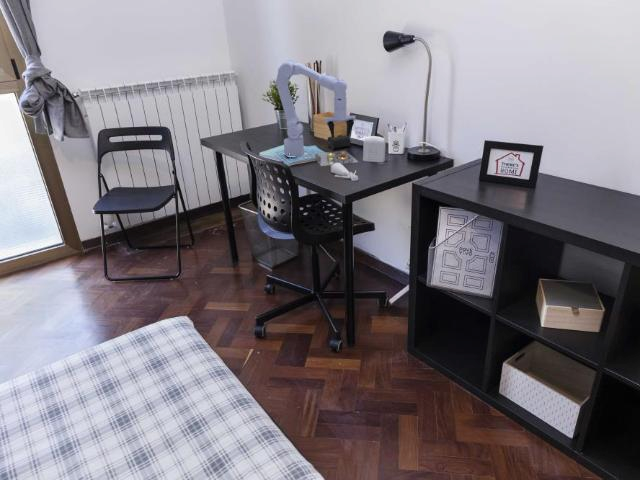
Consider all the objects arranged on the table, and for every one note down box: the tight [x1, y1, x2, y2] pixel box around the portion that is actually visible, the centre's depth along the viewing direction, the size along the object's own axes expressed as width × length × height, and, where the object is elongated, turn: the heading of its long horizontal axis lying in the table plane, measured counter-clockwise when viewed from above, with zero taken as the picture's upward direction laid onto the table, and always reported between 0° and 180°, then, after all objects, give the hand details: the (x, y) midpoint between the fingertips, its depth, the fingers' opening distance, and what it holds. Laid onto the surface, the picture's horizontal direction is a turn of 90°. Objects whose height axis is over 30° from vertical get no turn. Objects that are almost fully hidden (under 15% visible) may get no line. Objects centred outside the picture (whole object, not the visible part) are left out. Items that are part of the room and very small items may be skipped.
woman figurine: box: [330, 163, 359, 182], centre depth 209 cm, size 12×4×18 cm
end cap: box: [326, 134, 351, 150], centre depth 245 cm, size 10×7×7 cm
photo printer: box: [362, 135, 386, 165], centre depth 222 cm, size 10×4×12 cm, turn 73°
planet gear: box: [338, 150, 348, 160], centre depth 225 cm, size 5×5×4 cm
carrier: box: [310, 150, 359, 167], centre depth 229 cm, size 18×20×4 cm
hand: (340, 136), depth 230 cm, fingers open, 7 cm apart
